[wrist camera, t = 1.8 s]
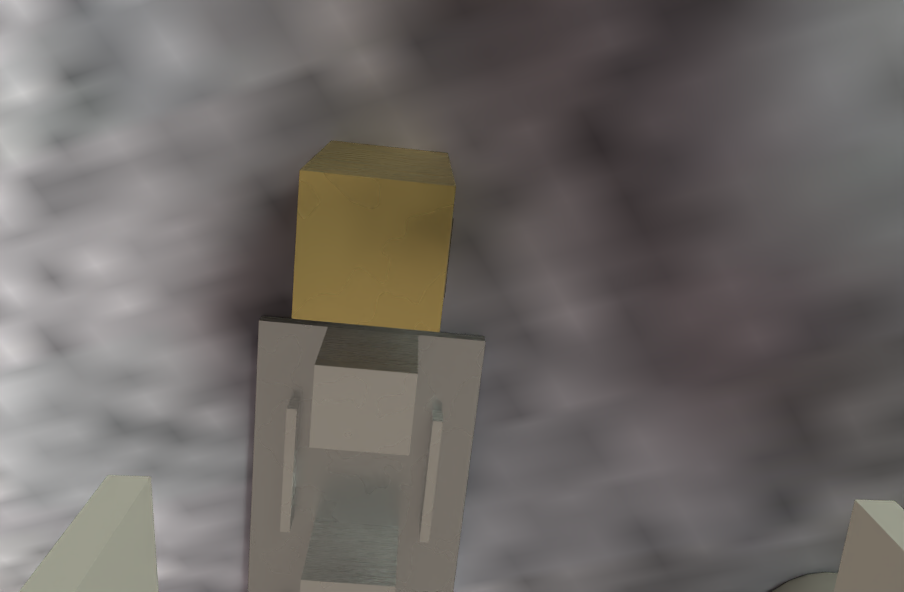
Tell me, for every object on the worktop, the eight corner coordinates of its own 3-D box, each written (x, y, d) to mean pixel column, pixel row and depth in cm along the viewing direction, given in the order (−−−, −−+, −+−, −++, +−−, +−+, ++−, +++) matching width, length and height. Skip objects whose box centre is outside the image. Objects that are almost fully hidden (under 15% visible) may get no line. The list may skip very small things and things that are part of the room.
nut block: (330, 140, 30) (297, 169, 22) (448, 153, 30) (457, 186, 22) (322, 253, 31) (289, 318, 23) (436, 264, 31) (441, 332, 24)
